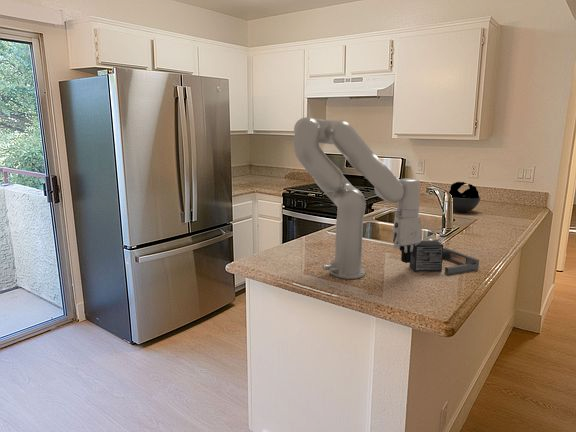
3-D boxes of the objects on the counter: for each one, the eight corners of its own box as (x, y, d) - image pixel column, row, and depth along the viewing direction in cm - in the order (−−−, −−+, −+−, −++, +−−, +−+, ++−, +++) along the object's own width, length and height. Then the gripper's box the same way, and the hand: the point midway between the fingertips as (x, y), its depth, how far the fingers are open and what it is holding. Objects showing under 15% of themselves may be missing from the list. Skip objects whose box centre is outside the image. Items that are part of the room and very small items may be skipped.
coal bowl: (444, 207, 281) (447, 179, 277) (477, 210, 274) (480, 181, 270) (444, 213, 262) (447, 183, 258) (480, 216, 256) (483, 185, 252)
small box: (435, 266, 164) (437, 240, 162) (442, 271, 158) (444, 244, 156) (408, 266, 164) (410, 240, 162) (414, 272, 158) (416, 245, 155)
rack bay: (447, 275, 155) (448, 264, 154) (416, 261, 170) (417, 251, 169) (478, 269, 161) (479, 259, 160) (445, 257, 176) (445, 247, 175)
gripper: (397, 217, 146) (395, 268, 150) (431, 212, 152) (428, 261, 156) (384, 213, 153) (382, 262, 156) (417, 209, 158) (415, 256, 162)
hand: (405, 261), depth 156 cm, fingers closed
